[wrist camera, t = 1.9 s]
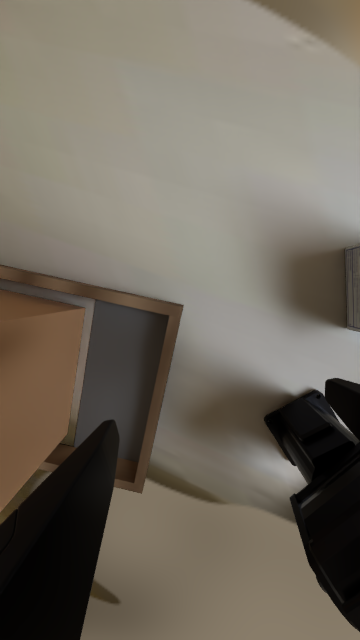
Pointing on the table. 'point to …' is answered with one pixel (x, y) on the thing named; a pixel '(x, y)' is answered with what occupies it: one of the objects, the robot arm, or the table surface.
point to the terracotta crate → (34, 382)
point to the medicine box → (353, 287)
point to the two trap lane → (119, 370)
